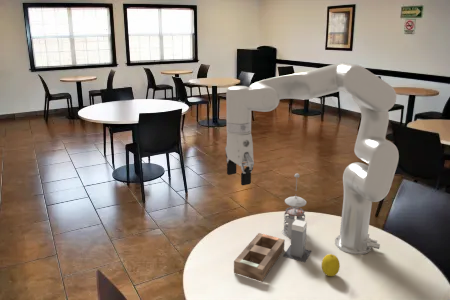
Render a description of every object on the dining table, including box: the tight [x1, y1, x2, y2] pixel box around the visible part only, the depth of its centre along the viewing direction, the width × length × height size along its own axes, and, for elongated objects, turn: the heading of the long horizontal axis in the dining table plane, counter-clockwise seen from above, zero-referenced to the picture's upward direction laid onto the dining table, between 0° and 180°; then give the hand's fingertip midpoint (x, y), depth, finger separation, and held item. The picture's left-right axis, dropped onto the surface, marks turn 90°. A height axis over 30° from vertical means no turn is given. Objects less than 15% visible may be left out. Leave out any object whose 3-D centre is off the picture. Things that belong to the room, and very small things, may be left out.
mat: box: [282, 244, 313, 263], centre depth 134 cm, size 8×8×1 cm
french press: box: [281, 173, 307, 239], centre depth 145 cm, size 10×12×25 cm
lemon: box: [321, 253, 341, 277], centre depth 121 cm, size 6×6×8 cm
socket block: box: [233, 232, 286, 283], centre depth 130 cm, size 10×20×5 cm, turn 152°
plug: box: [290, 220, 308, 258], centre depth 132 cm, size 4×4×12 cm
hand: (238, 179), depth 122 cm, fingers open, 9 cm apart
